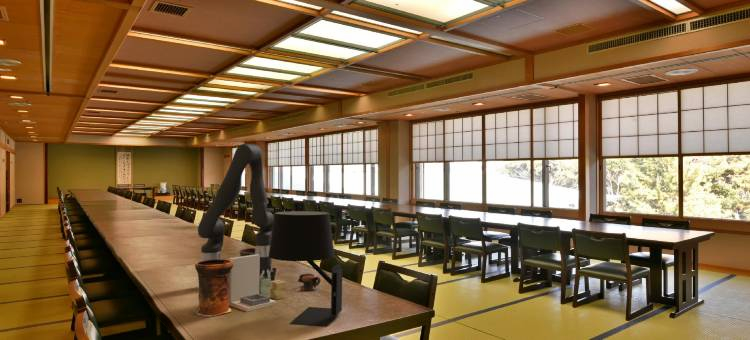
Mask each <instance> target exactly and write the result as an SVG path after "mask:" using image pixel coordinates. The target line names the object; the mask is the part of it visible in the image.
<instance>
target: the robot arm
mask: <svg viewBox="0 0 750 340" xmlns="http://www.w3.org/2000/svg"><path fill="white" fill-rule="evenodd" d="M262 154H263V153H262V150H261V148H260V146H259V145H256V144H253V143H250V144H249V143H242V144H240V145H239V146H238V147H236V150H235V152H234V154H233V157H232V159H231V162H230V165H229V167H228V169H227V172H226V174H225V176H224V177H223V180H222V182H221V184H220V185H219V188H218V190H217V192H216V194H215V196H214V198H213V199H212V201H211V203H210V206H209V207H208V209H207V210H206V212H205V213H204V215H203V217H202V218H201V220H200V222H199V224H198V226H197V235H198V236H199V237H200V238H202V239H207V241H206V242H205V244H203V245H201V248H200V253H201V254H200V261H205V260H213V259H221V260H222V248H223V246H224V240H225V239H224V238H225V237H224V236H225V225H224V222H223V220H222V219H220V217H221V216H222V215H223V214H224V213H225V212H226V211H227V210H228V209H229V208H231V206H232V205H233V204H234V203H235V202H236V200H237V198H238V196H239V194H240V192H241V189H242V175H243V173H244V171H245V169H246V167H247V165H249V168H250V175H251V177H250V184H249V193H250V199H251V202H252V218H253V219H252V220H253V222H254V224H255V226H256V227H257V228H259V230H258V232H257V233H256V235H255V247H254V248H255V255H256V254H258V255H260V276H259V284H260V280H262V277H265V278H271V281H275V279H276V273H277V267H273V266H272V260H273V259H272V258H269V257H268V256H269V249H270V243H271V236H272V230H273V224H274V217H275V215H273V213H272V212H270V211H267V205H268V203H269V200H268V196H267V192H266V187H265V180H264V170H263V157H262V156H263V155H262ZM259 293H260V285H259Z"/></svg>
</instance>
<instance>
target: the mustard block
mask: <svg viewBox="0 0 750 340" xmlns="http://www.w3.org/2000/svg"><path fill="white" fill-rule="evenodd" d="M269 297H270V299H271V298H272V299H275V300H279V299H283V298H286V297H287V281H285V280H282V279H276V280H274V281H271V282H270V294H269Z"/></svg>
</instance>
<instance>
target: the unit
mask: <svg viewBox="0 0 750 340" xmlns="http://www.w3.org/2000/svg"><path fill="white" fill-rule="evenodd" d="M228 259H229V260H231V261H233V268H232V269H231V271H230V275H229V307H233V308H236V309H239V310H241V311H244V312H247V313H248V312H251V311H252V312H253V311H256V310H259V309H265V308H267V307H272V306H276V305H277V301H276V300H273V299H271V297H270V296H268V295H261V294H259V276H260V255H258V254H256V255H249V256H242V257H240V256H235V257H229V258H228Z"/></svg>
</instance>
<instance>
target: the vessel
mask: <svg viewBox="0 0 750 340" xmlns="http://www.w3.org/2000/svg"><path fill="white" fill-rule="evenodd" d="M194 268H195V271H196V272H197V277H198V305H199V306H198V307H199V309H198V310H199V311H198V310H197V311H195V312H194V314H195V315H198V316H203V317H212V316H213V317H215V316H218V315H222V314H227V313H231V312H232V308H230V306H229V275H230V271H231V269H232V268H233V261H231V260H229V258H227V259H226V258H224V259H222V258H221V259H213V260H205V261H201V260H200V261H196V262H195V264H194Z"/></svg>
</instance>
